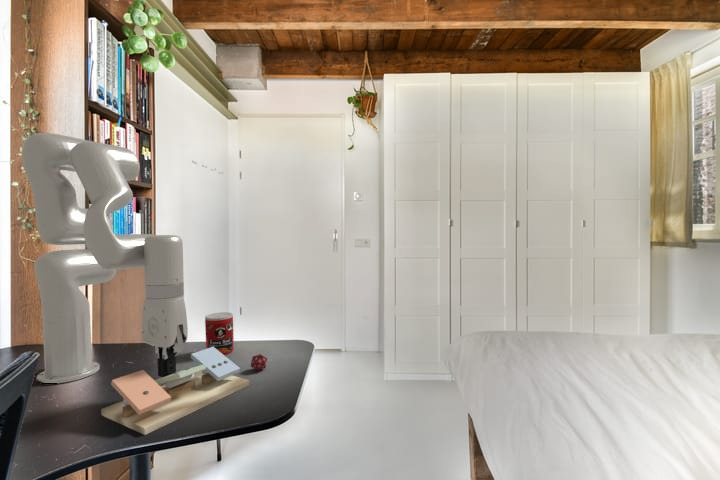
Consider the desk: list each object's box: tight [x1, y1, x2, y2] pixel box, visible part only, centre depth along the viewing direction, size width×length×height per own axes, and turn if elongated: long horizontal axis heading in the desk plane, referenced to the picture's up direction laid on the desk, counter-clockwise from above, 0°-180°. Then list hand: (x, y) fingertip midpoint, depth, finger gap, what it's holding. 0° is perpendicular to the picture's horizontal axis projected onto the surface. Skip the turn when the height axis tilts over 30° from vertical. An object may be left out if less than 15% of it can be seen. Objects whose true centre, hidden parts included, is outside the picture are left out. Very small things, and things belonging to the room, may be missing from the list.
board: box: [100, 370, 250, 436], centre depth 80 cm, size 15×24×3 cm, turn 149°
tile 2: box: [153, 364, 206, 389], centre depth 80 cm, size 10×6×2 cm, turn 58°
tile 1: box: [110, 369, 171, 415], centre depth 73 cm, size 10×6×2 cm, turn 60°
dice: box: [250, 353, 268, 371], centre depth 96 cm, size 4×4×4 cm
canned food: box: [204, 311, 235, 356], centre depth 111 cm, size 8×8×11 cm
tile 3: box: [190, 347, 241, 381], centre depth 87 cm, size 10×6×2 cm, turn 60°
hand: (167, 374), depth 83 cm, fingers closed
